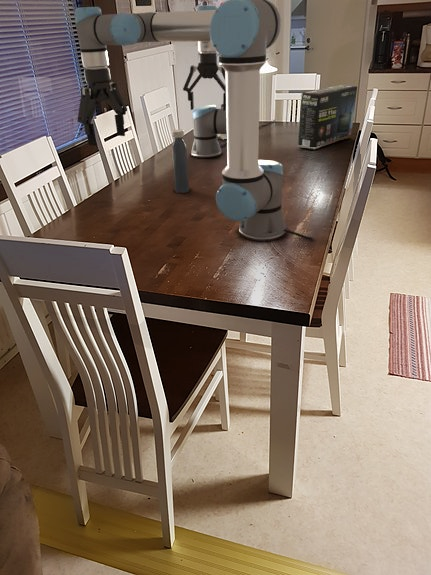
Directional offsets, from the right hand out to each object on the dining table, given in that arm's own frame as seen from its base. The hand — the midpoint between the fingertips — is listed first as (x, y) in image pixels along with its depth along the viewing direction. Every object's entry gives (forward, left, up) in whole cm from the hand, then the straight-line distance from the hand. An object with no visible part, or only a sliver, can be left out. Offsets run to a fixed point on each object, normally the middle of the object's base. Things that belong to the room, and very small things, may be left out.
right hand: (107, 140), depth 148 cm
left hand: (-3, -58, 0) cm, 59 cm away
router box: (-31, -132, -28) cm, 138 cm away
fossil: (+23, -122, -28) cm, 128 cm away
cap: (-2, -36, -4) cm, 37 cm away
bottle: (-2, -36, -28) cm, 46 cm away
